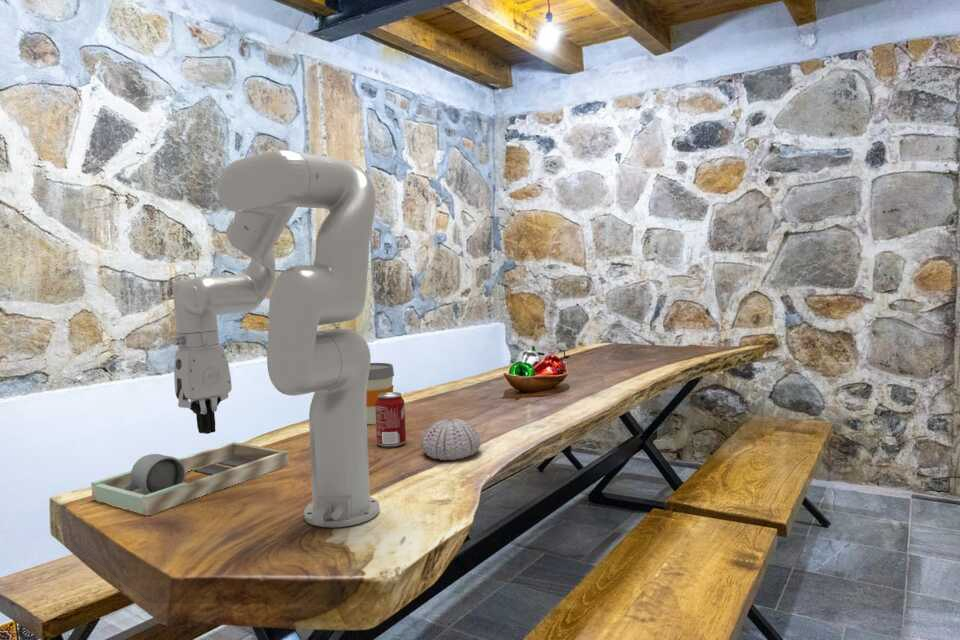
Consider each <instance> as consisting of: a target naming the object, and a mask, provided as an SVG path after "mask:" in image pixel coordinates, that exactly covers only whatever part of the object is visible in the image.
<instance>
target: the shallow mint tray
mask: <svg viewBox="0 0 960 640" xmlns="http://www.w3.org/2000/svg"><path fill="white" fill-rule="evenodd" d="M131 471H132V470H129V471H126V472H123V473H119V474H115V475H112V476H109V477H106V478H102V479H98V480H95V481H92V482H90V484H91V485H94V486H95V485H96V486H95V492H96V500H97V501H101V502H105V503H109V504H112V505H116V506H119V507H123V508H126V509H129V510H133V511H136V512H139V513H142V514H144V512H143V499H150V498H153V497H156V496H159V495H162V494H164V493H167V492H170V491H173V490H176V489H179V488H182V487H185V486H188V483H189V482H185V481H184V482H183V483H180V484H177V485H174V486H171V487H168V488H165V489H162V490H159V491H156V492H153V493H150V494H146V495H143V494H139V493H135V491H127V490H124V489H120V488H116V487H112V486H108V485H105V484H102V483H105V482H109V481H112V480H115V479H119V478H122V477H125V476H129V475H131Z"/></svg>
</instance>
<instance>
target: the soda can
mask: <svg viewBox="0 0 960 640" xmlns="http://www.w3.org/2000/svg"><path fill="white" fill-rule="evenodd" d="M375 406H376V424H375V425H376V444H378V445H379V446H381V447H383V448H388V447H390V448H397V446H398V447H401V446H402V445H403V444H405V443H406V441H407V438H406V437H407V435H406V433H407V432H406V409H405V408H406V407H405V400H404V398H403V397H402V393H401V392H397V391H393V392H386V393H381V394H378V399H377V401H376V403H375Z"/></svg>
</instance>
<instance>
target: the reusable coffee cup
mask: <svg viewBox="0 0 960 640" xmlns="http://www.w3.org/2000/svg"><path fill="white" fill-rule="evenodd" d="M394 376H395V372H394V366H393V364H392V363H388V362H387V363H386V362H370V370H369V377H368V384H367V397H366V408H367V424H372V425H376V406H375V403H376V401H377V399H378V394H381V393H386V392H394V385H393V378H394Z"/></svg>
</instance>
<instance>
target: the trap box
mask: <svg viewBox="0 0 960 640" xmlns="http://www.w3.org/2000/svg"><path fill="white" fill-rule="evenodd" d="M177 459H178V460H180V461H181V462H182V464H183V465H184V468H185V472H187V473H189V472H188V471H190V472H192V471H191V470H193V469H196V468H199V467H202V468H199V469H196V470H193V472H195V471H199V472H198V473H200V472H203V473H202V474H204V473H206V474H205V475H209V474H211V475H209V476H206V477H202V478H199V479H196V480H194V481H190V482H187V483H188V486H185V487H182V488H179V489H176V490H173V491H170V492H167V493H164V494H162V495H159V496H156V497H153V498H150V499H143V512H144V514H145V515H150V514H153V513H155V512H158V511H161V510H164V509H166V508H170V507H173V506H175V507H177V506H176V505H178V506H180V505H179V504H181V503H184V502H186V503H188V502H187V501H189V502H191V501H190V500H192V501H194V500H193V499H195V498H197V499H199V498H198V497H200V498H202V497H201V496H203V497H205V496H204V495H206V494H208V495H210V493H211V494H213V493H212V492H214V493H216V492H215V491H217V492H218V490H219V491H222V490H224V488H225V489H227V487H228V488H230V487H233V486H236V485H238V483H239V484H241V483H244V482H246V481H250V480H252V479H254V478H255V479H256V478H257V477H260V476H264V475H266V474H268V473H271V472H274V471H276V470H279V469H282V468H286V467H287V466H289V464H290V462H289V451H288V450H287V451H286V450H281V449H275V448H270V447H264V446H259V445H253V444H248V443H240V442H235V441H233V442H231V443H227V444H224V445H220V446H218V447H217V446H216V447H213V448H211V449H207V450H204V451H200V452H198V453H193V454H190V455H187V456H183V457H180V458H177ZM214 463H215V464H214ZM210 464H211V465H210ZM206 465H208V466H206ZM203 466H205V467H203ZM229 466H230V467H229ZM130 482H132V479H131V475H129V476H125V477H122V478H119V479H115V480H112V481H109V482H105V483H102V484H105V485H108V486H112V487H116V488H120V489H123V488H124V487H125V486H126V485H128V484H129V483H130ZM235 484H236V485H235ZM232 485H233V486H232ZM95 486H96V485H95ZM95 486H94V485H91V498H92V499H94V500H96V492H95ZM221 489H222V490H221ZM134 490H137V489H136V488H135V489H134ZM206 496H207V495H206ZM195 500H196V499H195ZM184 504H185V503H184ZM181 505H182V504H181ZM173 508H174V507H173ZM170 509H171V508H170ZM164 511H165V510H164ZM153 515H154V514H153Z"/></svg>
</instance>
